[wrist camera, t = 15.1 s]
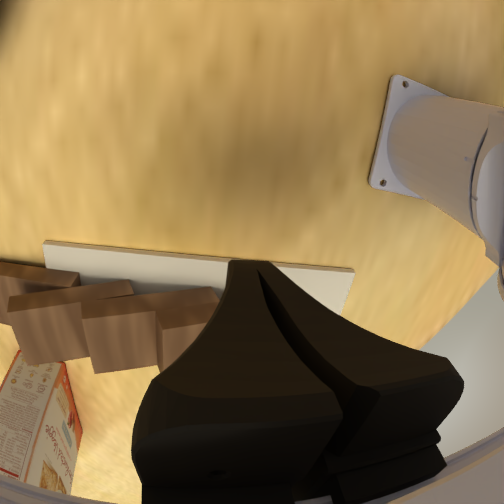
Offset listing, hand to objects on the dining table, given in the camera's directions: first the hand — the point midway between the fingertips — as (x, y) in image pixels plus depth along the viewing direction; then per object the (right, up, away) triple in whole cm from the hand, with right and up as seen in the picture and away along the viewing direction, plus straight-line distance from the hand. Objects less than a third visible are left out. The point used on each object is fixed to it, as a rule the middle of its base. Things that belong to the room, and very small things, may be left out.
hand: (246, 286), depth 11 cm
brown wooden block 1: (-12, -3, +10) cm, 16 cm away
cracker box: (-22, -15, +17) cm, 32 cm away
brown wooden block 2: (-8, -3, +11) cm, 14 cm away
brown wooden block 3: (-3, -4, +12) cm, 13 cm away
